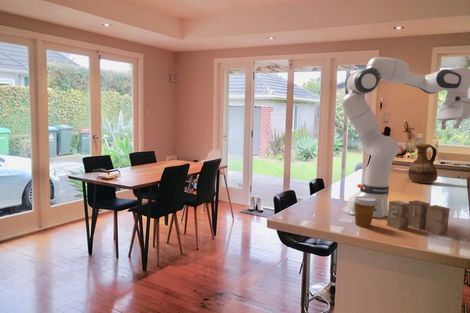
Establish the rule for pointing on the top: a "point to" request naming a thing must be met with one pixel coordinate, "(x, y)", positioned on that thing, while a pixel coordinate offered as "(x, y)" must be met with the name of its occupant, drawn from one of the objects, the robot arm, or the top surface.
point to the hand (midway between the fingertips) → (449, 128)
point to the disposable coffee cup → (364, 210)
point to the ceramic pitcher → (423, 166)
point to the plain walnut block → (437, 220)
